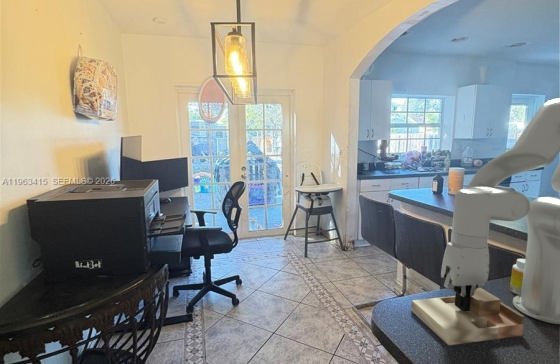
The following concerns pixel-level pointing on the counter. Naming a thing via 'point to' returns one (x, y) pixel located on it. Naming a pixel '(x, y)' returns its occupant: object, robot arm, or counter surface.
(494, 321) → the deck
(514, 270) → the supplement bottle
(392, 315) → the counter surface
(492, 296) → the block
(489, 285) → the counter surface
